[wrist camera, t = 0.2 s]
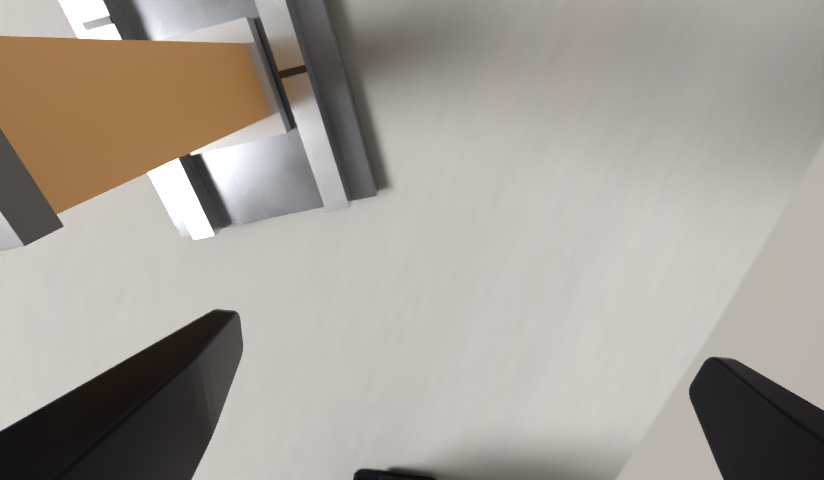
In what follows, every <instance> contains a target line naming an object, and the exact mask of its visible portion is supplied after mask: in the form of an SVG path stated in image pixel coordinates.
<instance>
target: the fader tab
mask: <svg viewBox="0 0 824 480" xmlns="http://www.w3.org/2000/svg"><path fill="white" fill-rule="evenodd" d="M291 130H292V129H291V126H290V123H289V120H288V118H287V115H286V112H285V109H284V106H283V103H282V100H281V97H280V94H279V91H278V89H277V86H276V83H275V80H274V77H273V74H272V71H271V68H270V65H269V62H268V60H267V57H266V54H265V51H264V48H263V45H262V42H261V39H260V36H259V33H258V31H257V28H256V25H255V22H254V19H253V18H249V17H244V18H240V19H237V20H233V21H229V22H226V23H222V24H218V25H214V26H211V27H207V28H203V29H200V30H196V31H192V32H188V33H185V34H181V35H177V36H174V37H170V38H166V39H162V40H159V41H151V40H116V39H81V38H46V37H10V36H0V251H4V250H9V249H13V248H18V247H23V246H26V245H28V244H30V243H32V242H34V241H36V240H38V239H40V238H42V237H44V236H46V235H48V234H50V233H52V232H54V231H56V230H58V229H60V228H62V227H64V226H63V224H62V223H61V221H60V220H59V218H58V216H57V215H56V214H58V213H60V212H63V211H65V210H67V209H69V208H71V207H73V206H76V205H78V204H80V203H82V202H84V201H86V200H89V199H91V198H93V197H95V196H97V195H100V194H102V193H104V192H106V191H108V190H110V189H113V188H115V187H117V186H119V185H121V184H123V183H126V182H128V181H130V180H132V179H134V178H136V177H139V176H141V175H143V174H145V173H147V172H149V171H152V170H154V169H156V168H158V167H160V166H163V165H165V164H167V163H169V162H171V161H173V160H176V159H178V158H180V157H182V156H184V155H186V154H189V153H190V154H191V155H196V154H200V153H204V152H209V151H213V150H217V149H221V148H226V147H230V146H234V145H238V144H243V143H247V142H251V141H256V140H260V139H264V138H268V137H273V136H277V135H281V134H285V133H288V132H289V131H291Z"/></svg>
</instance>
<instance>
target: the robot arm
mask: <svg viewBox="0 0 824 480" xmlns="http://www.w3.org/2000/svg"><path fill="white" fill-rule="evenodd" d="M242 352H243V339H242V331H241V322H240V316H239V314H238V313H237V312H236V311H231V310H221V309H216V310H213V311H211V312H209V313H207V314H205V315H203V316H202V317H200V318H198V319H196V320H195V321H193V322H191V323H189V324H188V325H186V326H184V327H182V328H181V329H179V330H177V331H175V332H174V333H172V334H170V335H168V336H167V337H165V338H163V339H161V340H160V341H158V342H156V343H154V344H153V345H151V346H149V347H147V348H146V349H144V350H142V351H140V352H139V353H137V354H135V355H133V356H132V357H130V358H128V359H126V360H124V361H123V362H121V363H119V364H117V365H116V366H114V367H112V368H110V369H109V370H107V371H105V372H103V373H102V374H100V375H98V376H96V377H95V378H93V379H91V380H89V381H88V382H86V383H84V384H82V385H81V386H79V387H77V388H75V389H74V390H72V391H70V392H68V393H67V394H65V395H63V396H61V397H60V398H58V399H56V400H54V401H53V402H51V403H49V404H47V405H45V406H44V407H42V408H40V409H38V410H37V411H35V412H33V413H31V414H30V415H28V416H26V417H24V418H23V419H21V420H19V421H17V422H16V423H14V424H12V425H10V426H9V427H7V428H5V429H3V430H2V431H0V480H191V479H192V477H193V475H194V473H195V471H196V469H197V467H198V465H199V463H200V461H201V459H202V457H203V455H204V453H205V451H206V448H207V446H208V444H209V442H210V440H211V438H212V435H213V433H214V430H215V428H216V425H217V423H218V420H219V417H220V414H221V412H222V409H223V406H224V403H225V401H226V398H227V395H228V392H229V390H230V387H231V384H232V381H233V379H234V376H235V373H236V370H237V368H238V365H239V362H240V359H241V356H242ZM689 396H690V400H691V402H692V405H693V407H694V409H695V412H696V415H697V417H698V419H699V422H700V424H701V427H702V429H703V432H704V434H705V436H706V439H707V441H708V444H709V446H710V449H711V451H712V453H713V456H714V458H715V461H716V463H717V465H718V468H719V470H720V472H721V475H722V477H723V479H724V480H824V410H822V409H820V408H818V407H816V406H815V405H813V404H811V403H810V402H808V401H806V400H804V399H803V398H801V397H799V396H798V395H796V394H794V393H792V392H790V391H789V390H787V389H785V388H783V387H782V386H780V385H778V384H777V383H775V382H773V381H772V380H770V379H768V378H766V377H765V376H763V375H761V374H760V373H758V372H756V371H754V370H753V369H751V368H749V367H747V366H746V365H744V364H742V363H740V362H739V361H737V360H734V359H731V358H722V357H710V358H708V359H707V360H706V361H705V362H704V363H703V365H702V367H701V368H700V370H699V372H698V373H697V375H696V377H695V379H694V380H693V382H692V383H691V385H690V388H689ZM353 480H435V479H432V478H423V477H412V476H402V475H391V474H381V473H371V472H356V473H355V474H354V477H353Z"/></svg>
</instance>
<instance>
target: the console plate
mask: <svg viewBox="0 0 824 480" xmlns="http://www.w3.org/2000/svg"><path fill="white" fill-rule="evenodd" d="M58 1H59V3H60V4H61V6H62V8H63V10H64V12H65V14H66V16H67V18H68V20H69V22H70V24H71V26H72V28H73V30H74V32H75V33H76V35H77V37H78V38H81V39H116V40H151V41H159V40H162V39H166V38H170V37H174V36H177V35H181V34H185V33H188V32H192V31H196V30H200V29H203V28H207V27H211V26H214V25H218V24H222V23H226V22H229V21H233V20H237V19H240V18H244V17H249V18H253V19H254V22H255V25H256V28H257V31H258V33H259V36H260V39H261V42H262V45H263V48H264V51H265V54H266V57H267V60H268V62H269V65H270V68H271V71H272V74H273V77H274V80H275V83H276V86H277V89H278V91H279V94H280V97H281V100H282V103H283V106H284V109H285V112H286V115H287V118H288V120H289V123H290V126H291V129H292V130H291V131H289V132H288V133H285V134H281V135H277V136H273V137H268V138H264V139H260V140H256V141H251V142H247V143H243V144H238V145H234V146H230V147H226V148H221V149H217V150H213V151H209V152H204V153H200V154H196V155H191V154H190V153H189V154H186V155H184V156H182V157H180V158H178V159H176V160H173V161H171V162H169V163H167V164H165V165H163V166H160V167H158V168H156V169H154V170H152V171H149V172H148V174H149V176H150V178H151V180H152V182H153V184H154V186H155V188H156V190H157V192H158V194H159V196H160V198H161V200H162V201H163V203H164V205H165V207H166V209H167V211H168V213H169V215H170V217H171V219H172V221H173V223H174V225H175V227H176V228H177V230H178V232H179V234H180V236H181V237H183V236H187V235H191V236H192V238H193V240H197V239H202V238H206V237H211V236H215V235H216V234H217V233H218V232H220V231H221V230H222V229H223V228H225V227H230V226H235V225H239V224H244V223H249V222H254V221H258V220H263V219H268V218H272V217H277V216H282V215H287V214H291V213H296V212H301V211H306V210H310V209H315V208H320V207H325V210H326V212H330V211H335V210H340V209H345V208H349V207H350V205H351V203H352V201H353V200H358V199H362V198H367V197H372V196H376V195H377V192H378V189H377V185H376V181H375V178H374V174H373V170H372V167H371V163H370V159H369V156H368V152H367V148H366V145H365V141H364V137H363V134H362V130H361V126H360V123H359V119H358V115H357V112H356V108H355V104H354V101H353V97H352V93H351V90H350V86H349V82H348V79H347V75H346V71H345V68H344V64H343V60H342V57H341V53H340V49H339V46H338V42H337V38H336V35H335V31H334V27H333V24H332V20H331V16H330V13H329V9H328V5H327V2H326V0H58Z"/></svg>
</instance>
